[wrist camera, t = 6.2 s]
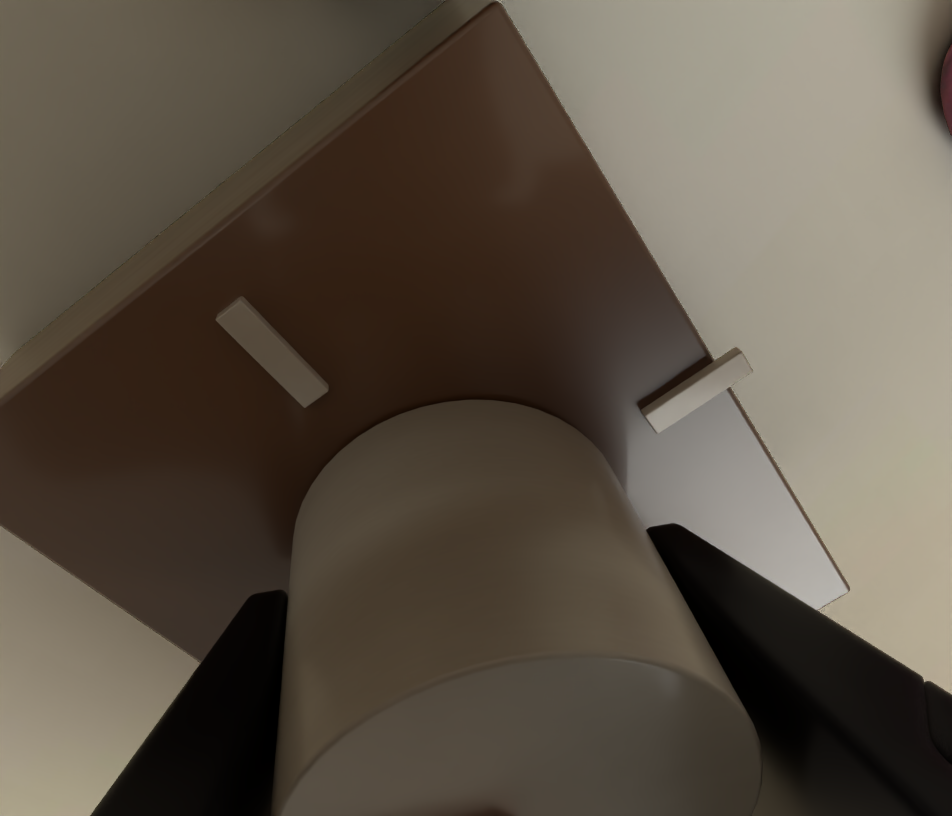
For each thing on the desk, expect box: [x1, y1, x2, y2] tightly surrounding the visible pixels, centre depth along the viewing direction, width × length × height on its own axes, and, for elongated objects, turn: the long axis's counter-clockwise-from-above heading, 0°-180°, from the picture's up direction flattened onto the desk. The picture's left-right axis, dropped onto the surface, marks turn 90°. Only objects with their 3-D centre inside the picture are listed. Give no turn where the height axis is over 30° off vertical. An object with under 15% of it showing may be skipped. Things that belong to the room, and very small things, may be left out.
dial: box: [270, 400, 763, 816], centre depth 8 cm, size 4×4×4 cm
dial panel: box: [0, 0, 850, 663], centre depth 11 cm, size 10×9×3 cm
